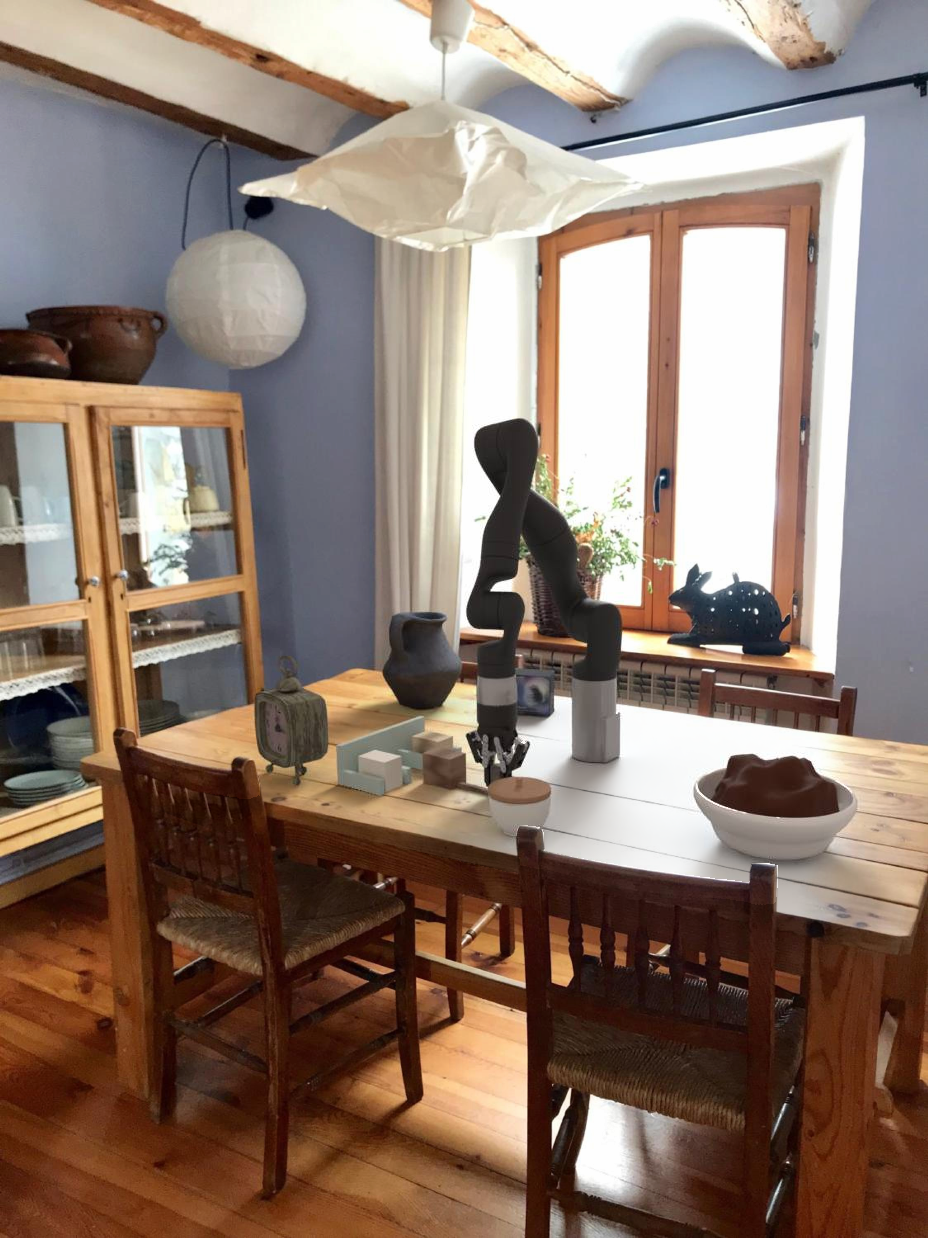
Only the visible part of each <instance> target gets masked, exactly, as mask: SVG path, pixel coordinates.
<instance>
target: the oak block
mask: <svg viewBox="0 0 928 1238" xmlns="http://www.w3.org/2000/svg"><path fill="white" fill-rule="evenodd" d="M453 745H454V736H453V735H449V734H445V733H440V732H439V733H438V732H434V731H429V730H425V732H422V733H419V734H417V735H414V736H412V748H413V752H417V753H421V754H423V753H424V752H426V751H429V750H432V749H434V748H437V747H441V748H445V749H450V750H453Z"/></svg>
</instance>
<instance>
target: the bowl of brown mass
mask: <svg viewBox="0 0 928 1238" xmlns="http://www.w3.org/2000/svg"><path fill="white" fill-rule="evenodd" d="M726 764H727V765H726V767H724V768H718V769H715V770H712V771H709V772H707V773H705V774H703V775H702V776H700V777H699V778H698V779H697V780H696V781H695V783H694V785H693V789H692V791H693V794H692V795H693V798H694V801H695V803H696V805H697V807H698V809H699V810H700V811H701V813H702V814H703V815H704V816H705V817H706V819H707V820H708V821H709V822H710V824H711V826H712V829H713V831H714V833H715V835H716V837H717V839H719V841H720V842H721V843H723V844H724V845H726V846H728V847H729V848H731V849H733V850H735V851H737V852H739V853H741V854H745V855H747V856H751V857H756V858H761V859H767V860H779V861H795V860H803V859H808V858H812V857H815V856H817V855H820V854H822V853H824V852H825V851H826V850H828V848H830V846H831V844H832V843H833V842H834V839H835V837H836V835H837V834H838V833H840V832H841V831H842V830H844V829H845V828H846V827H847V826H848V824H849V823H850V822H851V821H852V820H853V818H854V817H855V815H856V813H857V810H858V800H857V797H856V794H855V793H854V791H852V790H851V789H850V788H849V787H848V786H846V785H845V784H843V783H842V782H840V781H837V780H836V779H833V778H831V777H828V776H825V775H822V774H819V773H818V772H817V771H816V769H815V767H814V764H813V762H812V761H811V760H809V759H808V758H806V757H801V758H800V757H798V756H796V755H789V756H782V757H776V758H773V759H772V758H771V759H764V758H761V757H759V756H758V755H757V754H754V753H743V754H732V755H731V756H730V757H728V760H727V763H726Z"/></svg>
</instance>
